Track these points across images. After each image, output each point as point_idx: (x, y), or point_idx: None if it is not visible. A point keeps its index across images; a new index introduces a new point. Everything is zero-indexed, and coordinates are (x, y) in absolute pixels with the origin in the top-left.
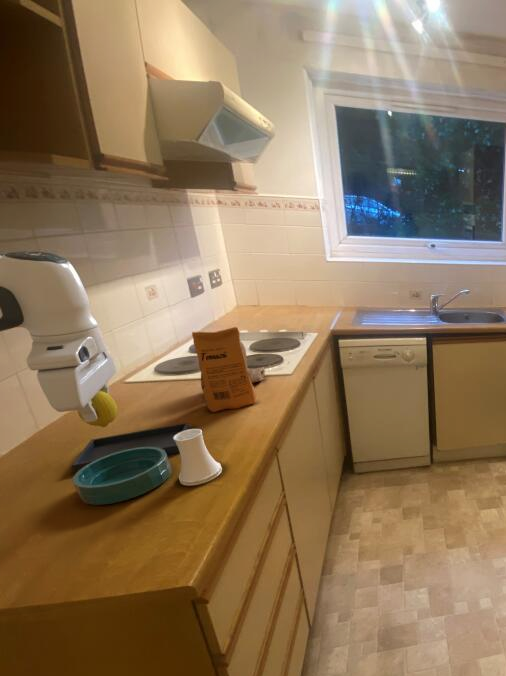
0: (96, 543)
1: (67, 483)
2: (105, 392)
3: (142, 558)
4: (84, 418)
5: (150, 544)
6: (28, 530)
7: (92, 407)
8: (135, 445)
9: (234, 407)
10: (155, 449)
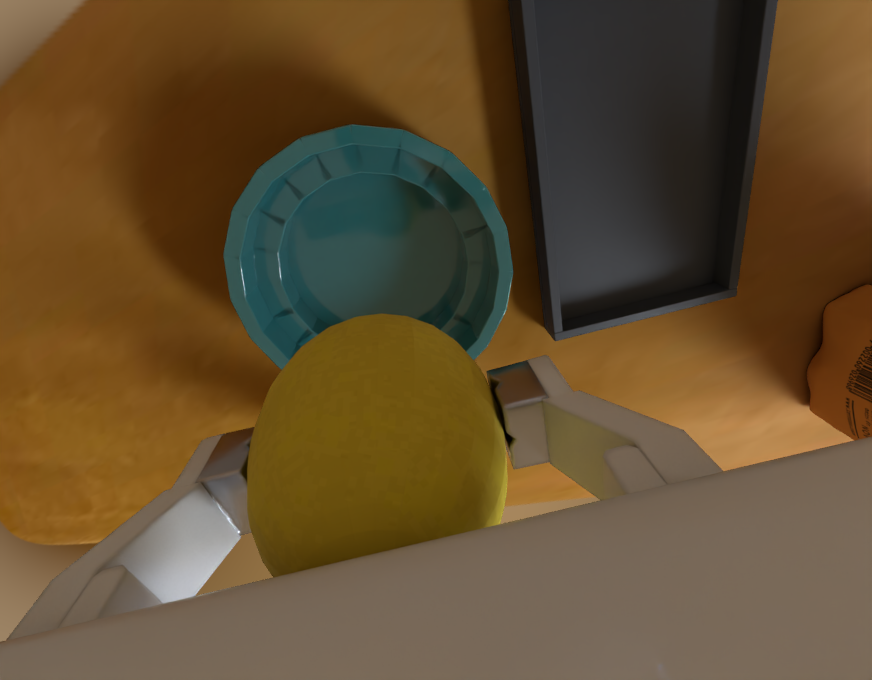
0: (89, 330)
1: (426, 2)
2: (582, 477)
3: (58, 451)
4: (194, 461)
5: (104, 444)
6: (119, 67)
7: (193, 591)
8: (657, 145)
9: (810, 369)
10: (475, 341)
